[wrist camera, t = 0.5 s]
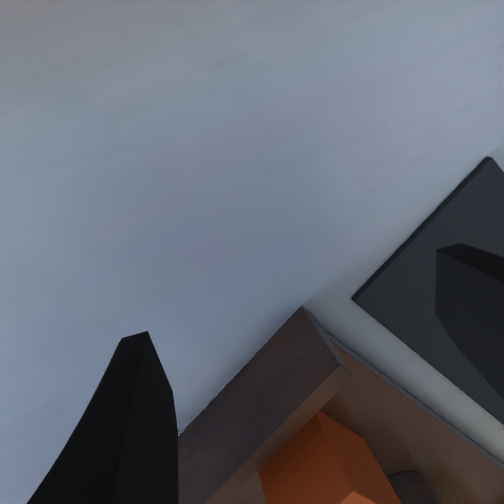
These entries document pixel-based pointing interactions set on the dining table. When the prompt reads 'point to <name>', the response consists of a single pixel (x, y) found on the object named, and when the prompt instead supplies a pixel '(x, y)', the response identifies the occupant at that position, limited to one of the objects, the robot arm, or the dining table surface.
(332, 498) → the rust block
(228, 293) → the dining table surface
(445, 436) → the shelf
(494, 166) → the mat
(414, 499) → the steel tin
